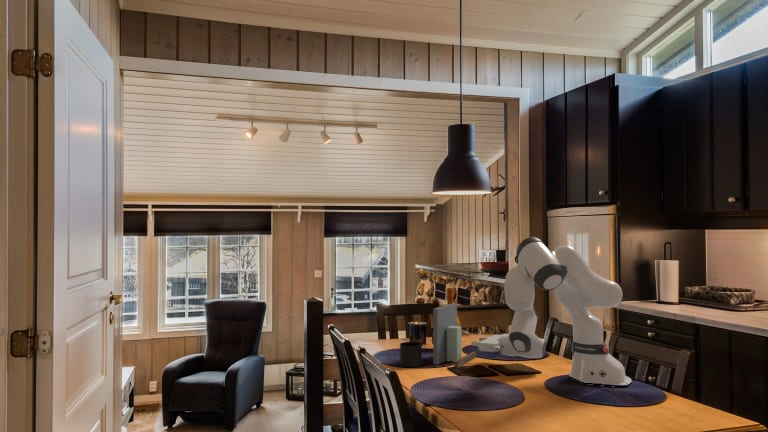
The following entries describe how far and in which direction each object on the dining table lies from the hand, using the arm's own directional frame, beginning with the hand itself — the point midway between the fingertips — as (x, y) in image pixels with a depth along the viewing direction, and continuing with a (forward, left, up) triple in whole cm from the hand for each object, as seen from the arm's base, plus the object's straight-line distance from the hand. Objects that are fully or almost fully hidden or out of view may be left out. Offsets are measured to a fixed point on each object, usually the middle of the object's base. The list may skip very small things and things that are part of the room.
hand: (475, 341), depth 232 cm
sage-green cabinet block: (+10, 0, -10) cm, 14 cm away
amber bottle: (+21, -22, -10) cm, 32 cm away
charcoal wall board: (+10, 0, -10) cm, 14 cm away
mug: (+24, +16, -10) cm, 31 cm away
